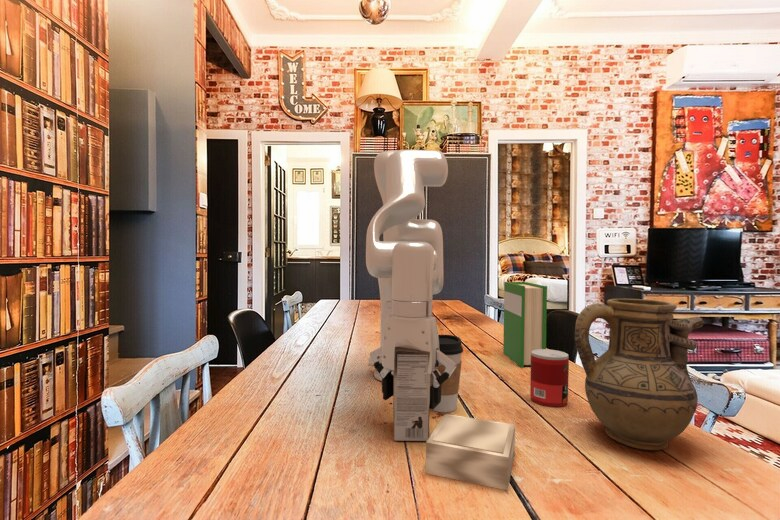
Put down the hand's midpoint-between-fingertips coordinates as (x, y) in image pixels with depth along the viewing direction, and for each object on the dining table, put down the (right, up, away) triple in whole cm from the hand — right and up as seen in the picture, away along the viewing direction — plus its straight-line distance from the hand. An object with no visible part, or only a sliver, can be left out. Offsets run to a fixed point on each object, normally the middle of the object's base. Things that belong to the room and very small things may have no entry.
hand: (410, 401), depth 76 cm
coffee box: (0, -6, 0) cm, 6 cm away
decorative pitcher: (+41, -6, -2) cm, 41 cm away
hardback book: (+38, -5, +53) cm, 66 cm away
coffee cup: (+8, -6, +13) cm, 16 cm away
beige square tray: (+9, -6, -11) cm, 16 cm away
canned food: (+32, -6, +17) cm, 37 cm away
